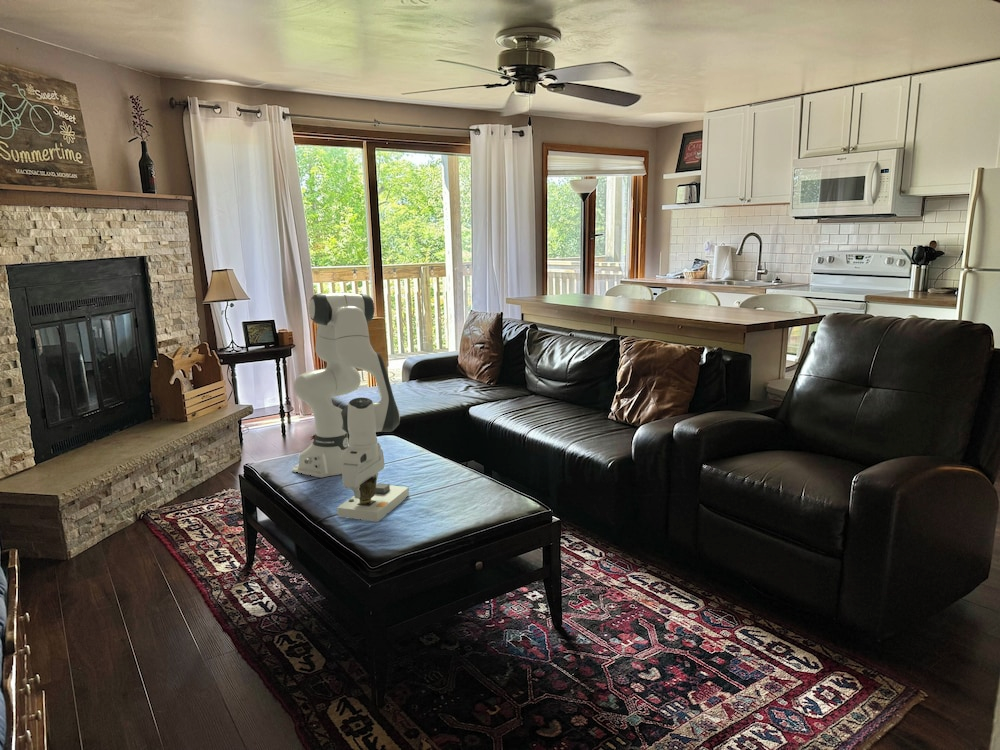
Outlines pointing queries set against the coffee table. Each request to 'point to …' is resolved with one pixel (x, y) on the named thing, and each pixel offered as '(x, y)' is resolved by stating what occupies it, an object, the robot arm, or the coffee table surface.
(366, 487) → the brown textured goblet
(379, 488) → the block
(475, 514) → the coffee table surface
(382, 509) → the panel
